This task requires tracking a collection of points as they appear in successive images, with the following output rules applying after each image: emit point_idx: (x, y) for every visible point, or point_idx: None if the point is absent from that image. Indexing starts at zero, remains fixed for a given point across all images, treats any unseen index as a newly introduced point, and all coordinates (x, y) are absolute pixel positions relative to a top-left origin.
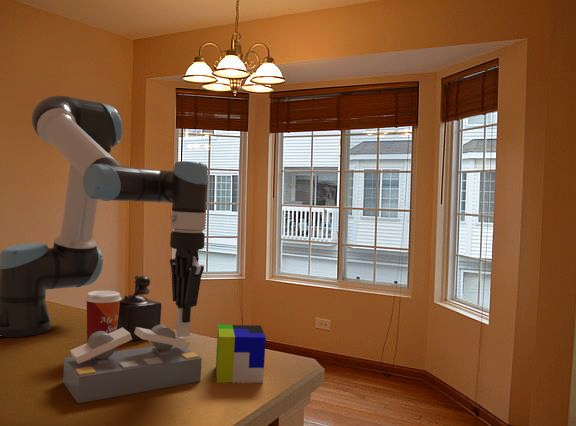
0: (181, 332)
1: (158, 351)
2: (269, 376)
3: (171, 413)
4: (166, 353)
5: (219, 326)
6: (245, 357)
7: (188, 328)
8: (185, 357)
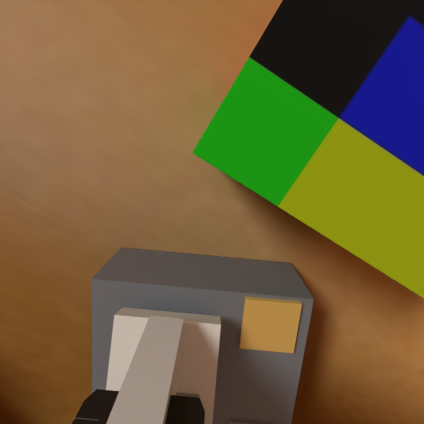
0: (177, 374)
1: None
2: None
3: (418, 413)
4: None
5: (236, 171)
6: None
7: (178, 352)
8: (283, 351)
